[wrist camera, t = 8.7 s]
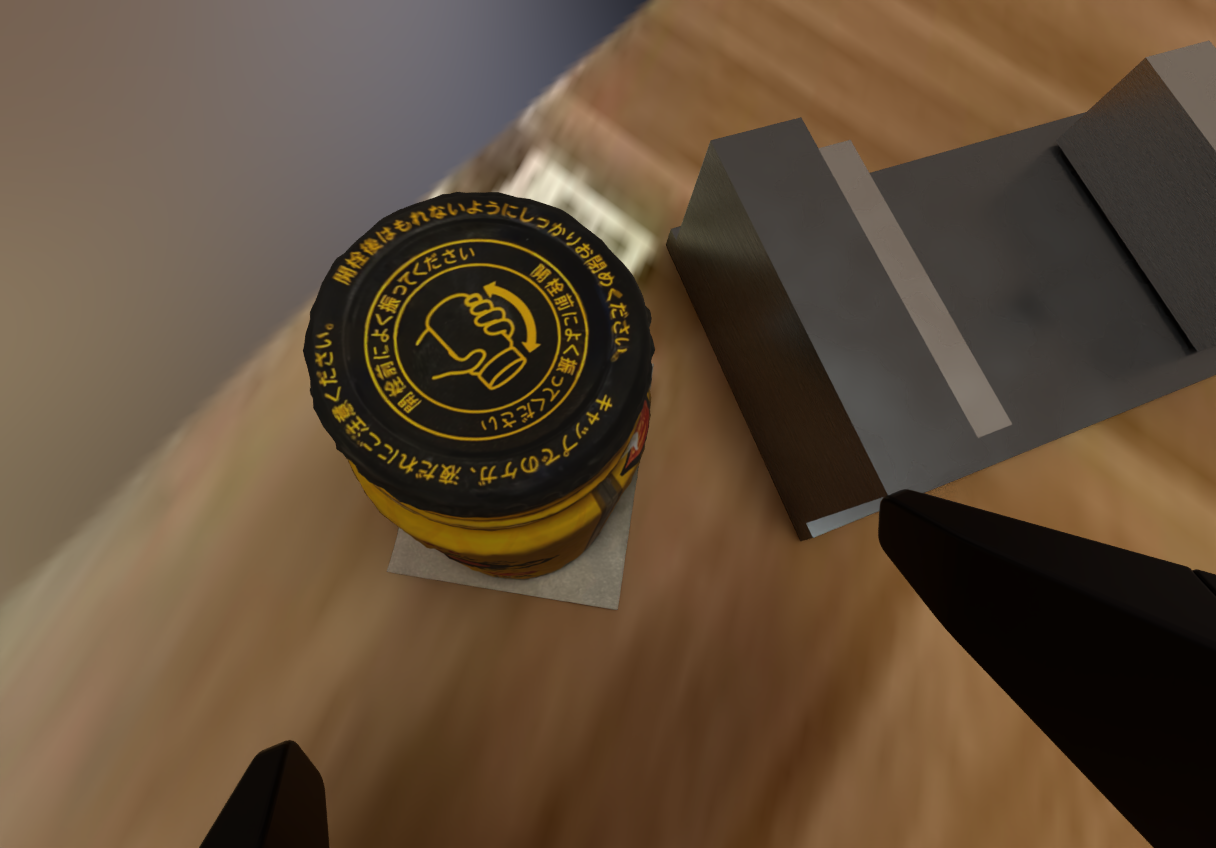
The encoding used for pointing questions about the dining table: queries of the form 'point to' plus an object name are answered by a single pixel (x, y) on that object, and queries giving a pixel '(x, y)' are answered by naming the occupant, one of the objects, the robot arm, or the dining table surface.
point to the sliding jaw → (1160, 176)
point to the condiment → (489, 392)
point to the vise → (916, 310)
